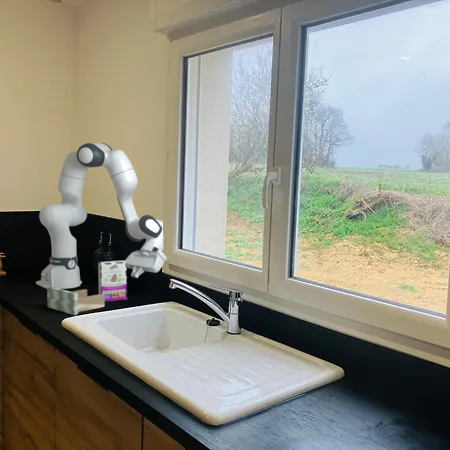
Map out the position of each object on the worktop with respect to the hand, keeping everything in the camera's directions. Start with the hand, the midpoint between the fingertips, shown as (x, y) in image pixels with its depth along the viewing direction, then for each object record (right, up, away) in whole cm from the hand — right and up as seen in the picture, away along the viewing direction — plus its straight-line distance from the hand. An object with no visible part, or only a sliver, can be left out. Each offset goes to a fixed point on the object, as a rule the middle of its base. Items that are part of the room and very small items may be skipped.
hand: (134, 276), depth 223 cm
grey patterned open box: (-18, -10, -21) cm, 30 cm away
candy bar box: (-8, -9, -8) cm, 14 cm away
